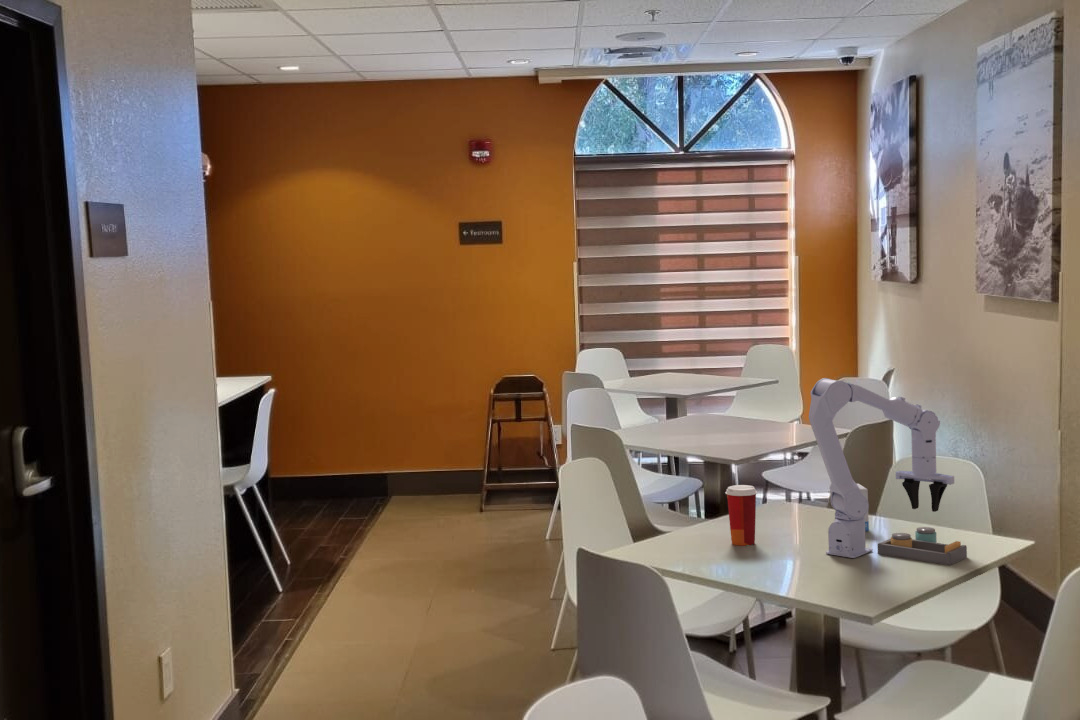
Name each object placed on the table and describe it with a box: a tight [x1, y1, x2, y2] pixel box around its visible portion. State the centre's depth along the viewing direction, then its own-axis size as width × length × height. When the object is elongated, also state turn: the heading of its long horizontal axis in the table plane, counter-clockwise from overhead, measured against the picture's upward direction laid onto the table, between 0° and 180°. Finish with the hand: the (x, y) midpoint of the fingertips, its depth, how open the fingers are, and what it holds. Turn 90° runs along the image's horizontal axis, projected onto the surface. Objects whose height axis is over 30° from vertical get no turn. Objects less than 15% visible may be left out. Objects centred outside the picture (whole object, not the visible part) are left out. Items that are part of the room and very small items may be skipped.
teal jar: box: [914, 526, 938, 543], centre depth 257 cm, size 5×5×4 cm
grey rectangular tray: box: [877, 538, 968, 566], centre depth 248 cm, size 9×18×3 cm, turn 43°
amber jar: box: [890, 532, 913, 548], centre depth 252 cm, size 5×5×4 cm
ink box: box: [856, 483, 870, 532], centre depth 279 cm, size 8×5×12 cm, turn 179°
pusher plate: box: [945, 540, 962, 553], centre depth 242 cm, size 6×1×4 cm, turn 133°
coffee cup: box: [724, 484, 758, 547], centre depth 268 cm, size 8×8×15 cm
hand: (925, 509), depth 256 cm, fingers open, 5 cm apart
